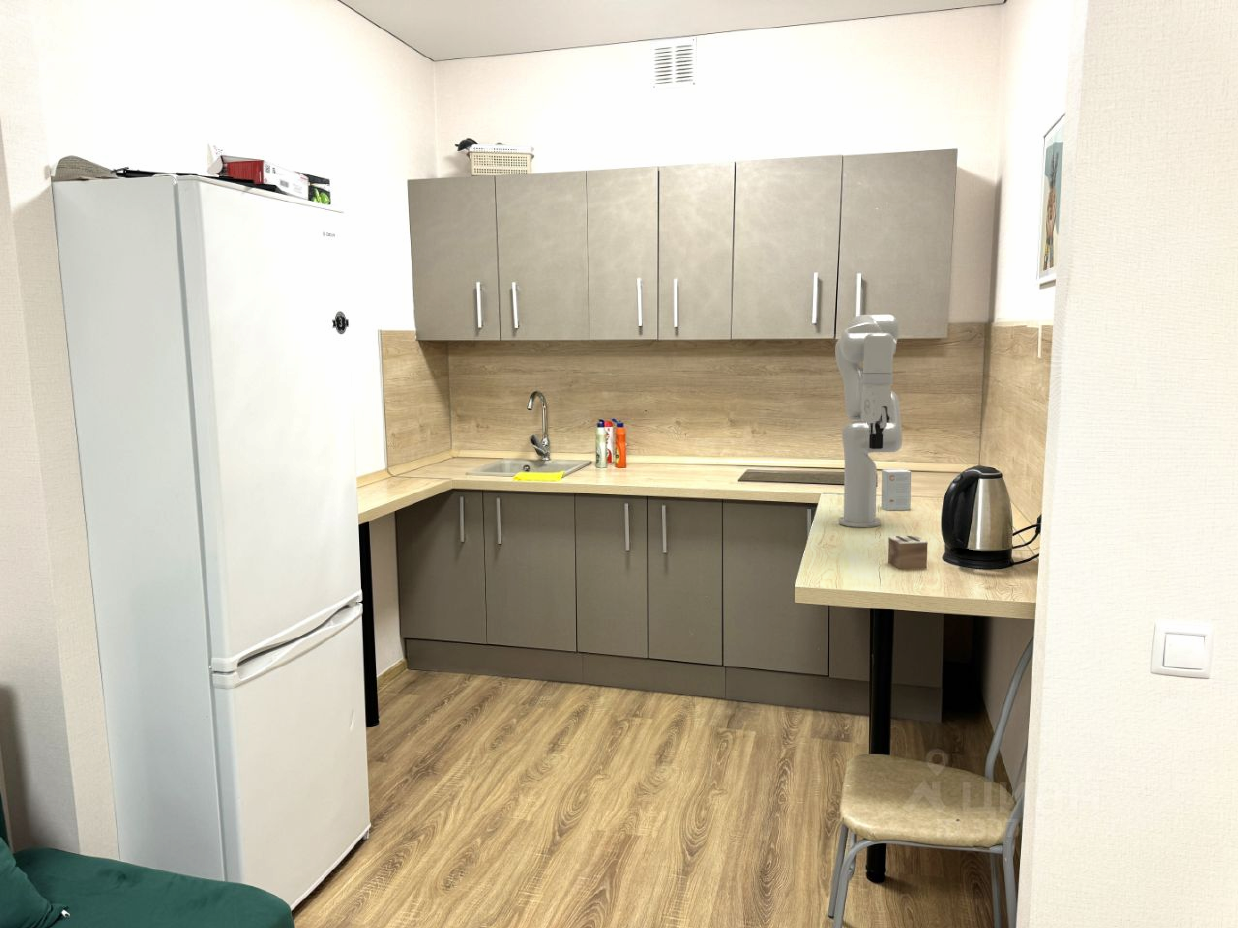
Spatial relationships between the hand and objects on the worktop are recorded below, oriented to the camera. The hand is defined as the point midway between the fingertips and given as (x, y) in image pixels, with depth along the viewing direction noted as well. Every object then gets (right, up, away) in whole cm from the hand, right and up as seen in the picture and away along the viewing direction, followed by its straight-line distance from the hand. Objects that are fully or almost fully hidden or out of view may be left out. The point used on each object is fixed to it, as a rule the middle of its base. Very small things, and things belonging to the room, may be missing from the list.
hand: (876, 448), depth 237 cm
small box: (+23, -19, +57) cm, 65 cm away
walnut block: (+3, -23, -18) cm, 29 cm away
